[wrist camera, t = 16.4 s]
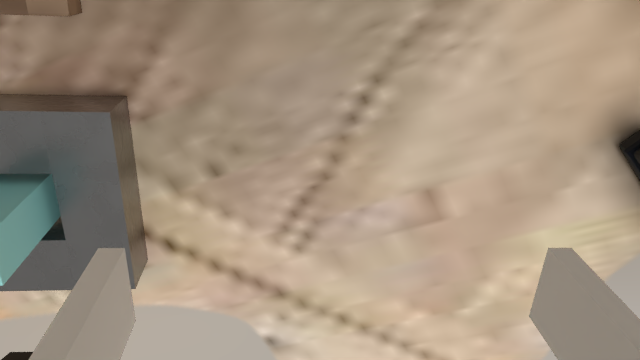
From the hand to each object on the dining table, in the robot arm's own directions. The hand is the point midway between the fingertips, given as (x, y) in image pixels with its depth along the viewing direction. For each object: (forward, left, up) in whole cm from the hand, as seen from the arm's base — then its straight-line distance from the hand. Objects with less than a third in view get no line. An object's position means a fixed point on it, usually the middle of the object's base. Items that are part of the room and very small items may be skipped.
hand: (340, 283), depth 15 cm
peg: (+10, -22, -28) cm, 37 cm away
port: (+10, -22, -28) cm, 37 cm away
